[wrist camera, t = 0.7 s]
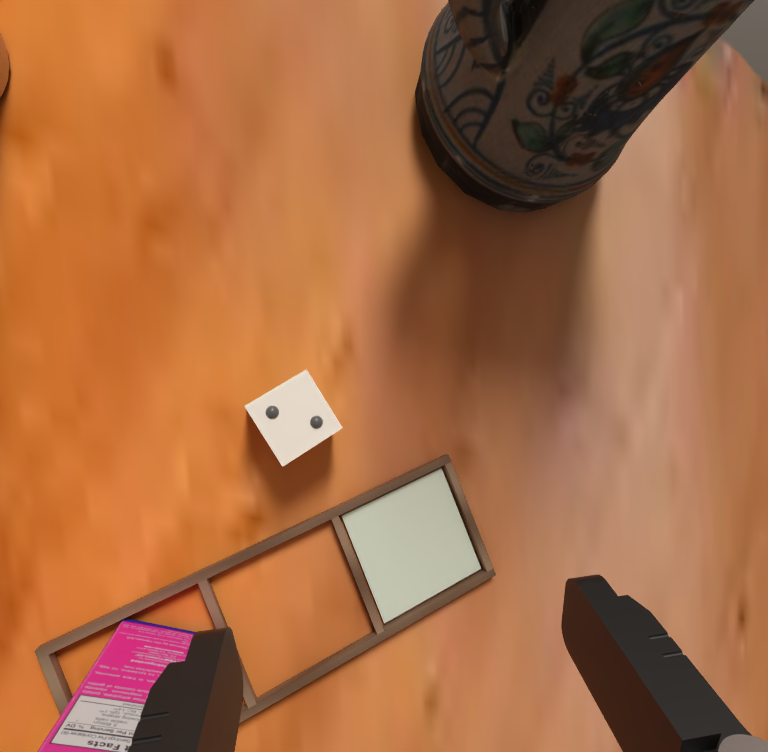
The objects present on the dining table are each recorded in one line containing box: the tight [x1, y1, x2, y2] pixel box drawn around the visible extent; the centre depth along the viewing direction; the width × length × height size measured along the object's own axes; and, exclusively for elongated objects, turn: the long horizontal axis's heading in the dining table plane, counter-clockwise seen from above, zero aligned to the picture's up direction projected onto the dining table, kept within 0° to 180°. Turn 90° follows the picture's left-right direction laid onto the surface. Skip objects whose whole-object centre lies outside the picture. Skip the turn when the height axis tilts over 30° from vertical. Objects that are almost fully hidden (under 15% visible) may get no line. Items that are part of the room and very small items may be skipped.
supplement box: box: [38, 618, 196, 752], centre depth 21 cm, size 6×6×12 cm
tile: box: [341, 468, 481, 624], centre depth 31 cm, size 8×8×1 cm
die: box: [245, 369, 342, 467], centre depth 27 cm, size 4×4×4 cm
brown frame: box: [35, 454, 496, 723], centre depth 28 cm, size 9×26×1 cm, turn 112°
